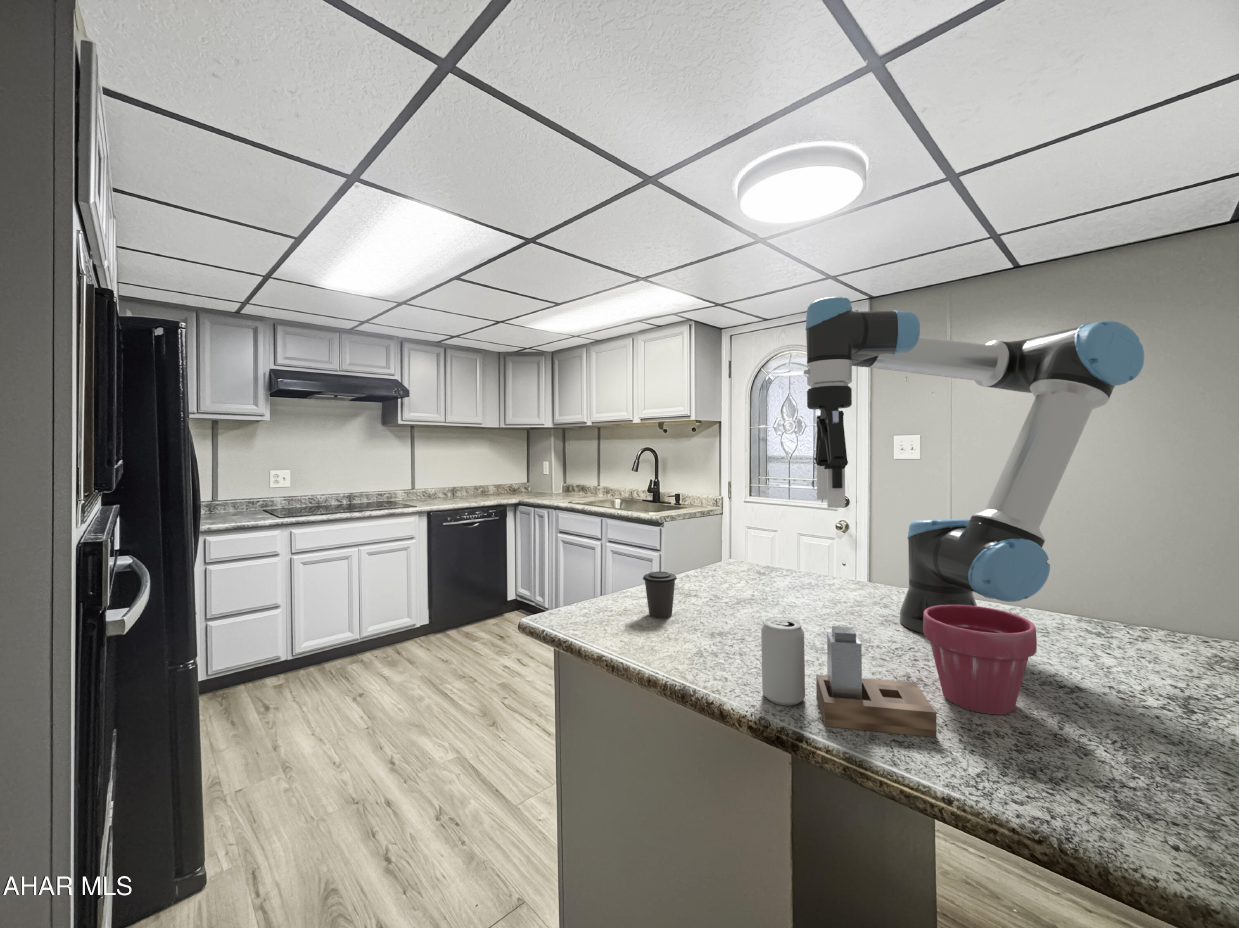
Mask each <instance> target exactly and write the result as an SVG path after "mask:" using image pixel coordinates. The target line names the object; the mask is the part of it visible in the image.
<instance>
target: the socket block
mask: <svg viewBox="0 0 1239 928" xmlns="http://www.w3.org/2000/svg"><path fill="white" fill-rule="evenodd" d="M815 678H816V679H815V680H816V700H817V702H818V705H819V709H820V714H821V716H822V717H821V718H822V720H823V721H822V722H823V724H824V727H830V728H840V729H841V728H842V729H848V730H849V729H850V730H859V731H870V732H879V733H888V734H898V735H899V734H900V735H908V736H918V737H929V738H937V711H936V710H935V708H934V707H933V706H932V704H931V703H930V702H929V700H928V699H927V697H926V696H925V694H924V693H923V691H922V690H921V688H920V687H919V686H918V684H917V683H916V682H915V681H913V682H912V681H903V680H902V681H900V680H888V679H878V678H877V679H876V678H863V677H862V700H856V699H845V698H834V697H829V696H828V674H827V675H825V674H816V677H815Z"/></svg>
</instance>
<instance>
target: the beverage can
mask: <svg viewBox="0 0 1239 928" xmlns="http://www.w3.org/2000/svg"><path fill="white" fill-rule="evenodd" d="M760 631H761V633H760V634H761V684H762V685H761V689H762V694H763V695H764V697H766V698H767V699H768V700H769V701H770V702H772V703H774V704H777V705H780V706H788V707H790V706H796V705H798V704H800V703H801V702H802V701H803V700H804V699H805V698H806V678H805V677H806V674H805V673H806V672H805V671H806V670H805V669H806V668H805V667H806V666H805V665H806V662H805V661H806V660H805V631H804V630H803V627H802V623H801V622H800V621H799V620H797V619H795V618H791V617H785V616H773V617H767V618H765V619H764V620H763V625H762V627H761V628H760Z"/></svg>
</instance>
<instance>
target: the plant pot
mask: <svg viewBox="0 0 1239 928" xmlns="http://www.w3.org/2000/svg"><path fill="white" fill-rule="evenodd" d="M923 631H924V634H923V636H924V637H925V638H926V639H927V640H928V641H929V642H930V646H931V651H932V655H933V658H934V663H935V667H936V672H937V675H938V679H939V680H938V681H939V684H940V687H941V691H942V694H943V696H944V698H946V700H948V701H949V702H951V703H953V704H954V705H956V706H958V707H960V708H963V709H967V710H970V711H972V712H977V713H983V714H989V715H1006V714H1010V713H1012V712H1013V711H1014V710H1015V709H1016V706H1017V701H1018V698H1019V694H1020V690H1021V687H1022V683H1023V680H1024V676H1025V673H1026V672H1025V671H1026V668H1027V664H1028V661H1029V658H1030V657H1033V656H1035V655H1036V653H1037V650H1038V649H1037V648H1038V646H1037V645H1038V643H1037V628H1036V625H1035V624H1034V623H1033V622H1032V621H1031V620H1030V619H1027V618H1026V617H1023V616H1021V615H1018V614H1015V613H1012V612H1009V611H1006V610H1001V609H997V608H991V607H985V606H978V605H977V606H970V605H939V606H933V607H929V608H927V609H926V610H925V611H924V615H923Z"/></svg>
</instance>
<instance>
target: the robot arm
mask: <svg viewBox="0 0 1239 928" xmlns="http://www.w3.org/2000/svg"><path fill="white" fill-rule="evenodd" d="M805 319H806V320H805V333H806V334H805V335H806V364H807V365H806V369H805V368H804V369H803V374H804V375H806V376H807V377H806V382H807V383H806V384H807V386H809V387H810V388H808V390H806V406H807V408H808V410H820V414H819V415H817V417H816V423H815V424H816V441H815V443H816V444H815V457H814V461H815V464H816V500H820V501H821V500H823V501H827V508H829V509H830V508H831V509H832V508H833V509H836V508H837V509H845V508H846V467H847V466H848V464H849V460H848V454H847V445H846V435H845V434H846V433H845V427H844V426H845V425H844V416H845V415H844V414H845V413H844V411H843V410H839V409H848V408H850V407H851V406H852V405H853V404H852V403H853V400H852V399H853V397H852V396H853V395H852V391H853V388H852V387H851V386H849V385H850V384H851V383H852V381H853V375H852V374H853V368H852V367H860V368H870V369H876V370H878V369H879V370H883V371H885V370H886V371H894V372H902V373H903V372H904V373H911V374H918V375H925V376H926V375H927V376H936V377H943V378H950V379H959V380H966V381H974V382H975V384H976V385H978V386H980V387H984V388H992V389H999V390H1007V391H1013V392H1021V393H1028V394H1032V395H1033V396H1034V400H1033V402H1032V404H1031V407H1030V409H1029V411H1028V413H1027V416H1026V417H1025V420H1024V422H1023V424H1022V427H1021V429H1020V431H1019V434H1018V436H1017V438H1016V439H1015V442H1014V444H1013V447H1012V448H1011V450H1010V451H1011V452H1010V454H1008V457H1007V460H1006V461H1005V464H1004V467H1003V469H1002V472H1001V474H1000V475H999V478H998V480H997V482H996V484H995V486H994V488H993V491H992V493H991V495H990V498H989V500H988V503H987V504H986V507H985V508H984V510H982V511H979V512H976V513H973V514H971V516H970V519H967V518H966V519H965V518H961V519H959V518H957V519H956V518H953V519H951V518H949V519H948V518H947V519H946V518H945V519H941V518H940V519H916V520H913V521H911V522H910V524H909V526H908V535H907V540H908V541H907V543H908V589H907V592H906V594H905V596H904V598H903V601H902V604H901V607H900V611H899V622H900V624H901V625H903V626H904V627H905V628H907V629H909V630H912V631H915V632H917V633H920V634H923V635H924V631H923V615H924V611H925V610H926V609H927V608H929V607H933V606H939V605H970V606H978V604H977V602H976V599H975V597H974V593H976V594H978V595H979V596H980V595H981V596H982V597H984V598H986V599H992V600H997V601H1001V602H1006V603H1015V602H1016V603H1018V602H1020V601H1022V600H1027V599H1029V598H1031V597H1033V596H1035V595H1036V594H1038V592H1040V591H1041V590H1042V588H1043V587H1044V586H1045V585H1046V582H1047V581H1048V580H1049V579H1048V578H1049V576H1050V570H1051V564H1050V563H1048V561H1049V555H1048V554H1047V552H1046V551H1045V549H1044V548H1043V546H1044V545H1045V542H1046V538H1045V537H1044V535H1043V533H1042V532H1041V529H1040V528H1041V524H1042V522H1043V520H1044V519H1045V516H1046V513H1047V511H1048V509H1049V507H1050V505H1051V502H1052V500H1053V499H1054V496H1055V494H1056V491H1057V489H1058V486H1059V485H1060V483H1061V480H1062V478H1063V476H1064V474H1065V471H1066V469H1067V467H1068V465H1069V463H1070V461H1071V458H1072V456H1073V454H1074V452H1075V450H1076V447H1077V445H1078V443H1079V441H1080V439H1081V436H1082V434H1083V431H1084V429H1085V427H1086V425H1087V422H1088V421H1089V419H1090V416H1091V413H1092V411H1093V410H1095V409H1097V408H1101V407H1103V406H1106V405H1107V404H1108V402H1109V400H1110V397H1111V395H1112V394H1113V391H1114V389H1115V388H1116V386H1121V385H1125V384H1127V383H1129V382H1130V381H1134V379H1136V378H1137V377H1138V376H1139V374H1141V372H1142V370H1143V368H1144V364H1145V351H1144V346H1143V344H1142V343H1141V341H1140V338H1139V336H1138V335H1137V333H1136V332H1135V331H1134V330H1133V329H1131V327H1129V326H1127V325H1126V324H1124V323H1122V322H1119V321H1115V320H1103V321H1097V322H1088V323H1084V324H1081V325H1079V326H1077V327H1073V328H1072V327H1071V328H1068V329H1064V330H1060V331H1056V332H1052V333H1048V334H1044V335H1039V336H1034V337H1031V338H1026V339H1020V340H1014V341H1013V340H1012V341H1003V340H991V341H988V342H987V343H977V342H968V341H961V340H960V341H959V340H953V339H952V340H951V339H945V338H937V337H927V336H922V335H921V323H920V320H919V317H918V316H917V315H916V314H915V313H914V312H911V311H907V310H906V311H903V310H902V311H901V310H897V309H895V310H876V311H875V310H872V311H871V310H869V311H868V310H866V311H863V310H862V311H859V310H853V307H852V302H851V300H850V298H847V297H842V296H831V297H830V296H828V297H824V298H820V299H816V300H815V301H813V302H811V303H810V304H809V305H808V306H807V309H806V318H805ZM920 335H921V336H920Z"/></svg>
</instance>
